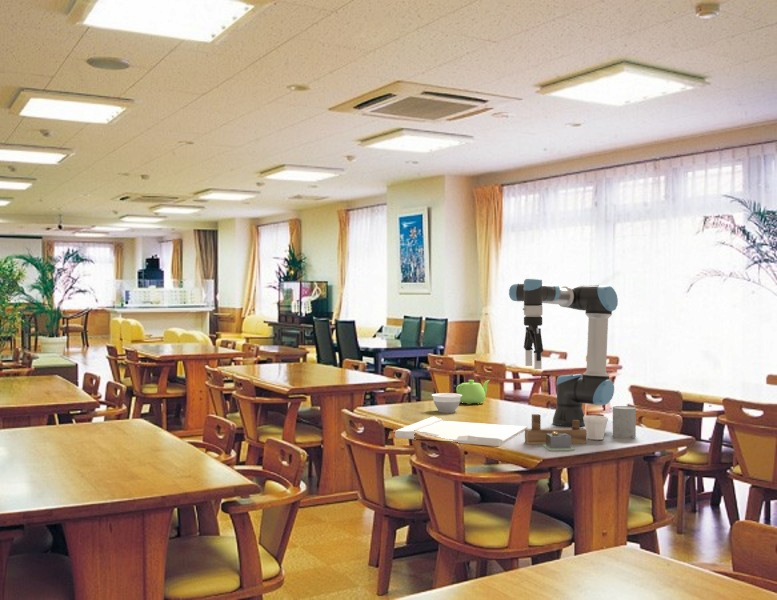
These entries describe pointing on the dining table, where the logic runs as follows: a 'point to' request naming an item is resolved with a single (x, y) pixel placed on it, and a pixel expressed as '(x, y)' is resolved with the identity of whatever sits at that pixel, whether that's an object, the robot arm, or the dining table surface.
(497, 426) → the white flat slab
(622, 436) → the grey cylindrical container
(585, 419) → the cup
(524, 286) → the robot arm
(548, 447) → the mat
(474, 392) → the teapot
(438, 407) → the bowl
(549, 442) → the lever cap
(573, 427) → the body
